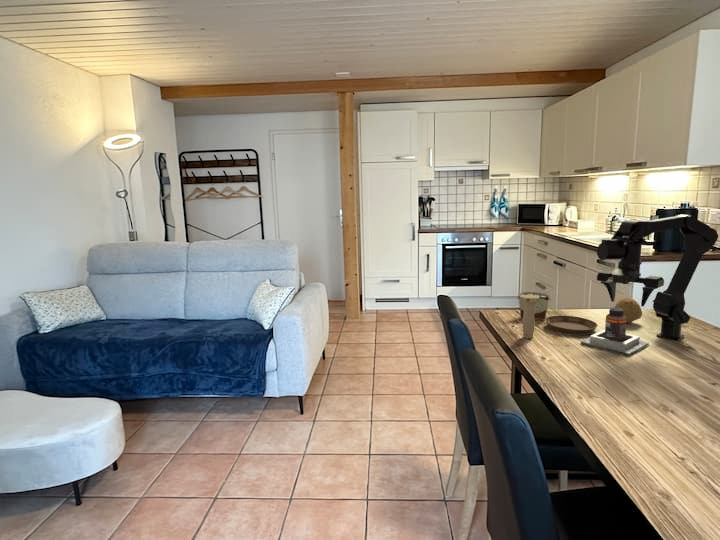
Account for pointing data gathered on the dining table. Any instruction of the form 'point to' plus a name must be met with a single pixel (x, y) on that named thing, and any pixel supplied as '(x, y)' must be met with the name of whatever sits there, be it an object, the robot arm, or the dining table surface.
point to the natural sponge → (629, 309)
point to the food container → (536, 305)
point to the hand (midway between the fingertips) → (627, 303)
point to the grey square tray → (615, 344)
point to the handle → (528, 314)
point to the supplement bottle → (615, 325)
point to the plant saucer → (571, 325)
